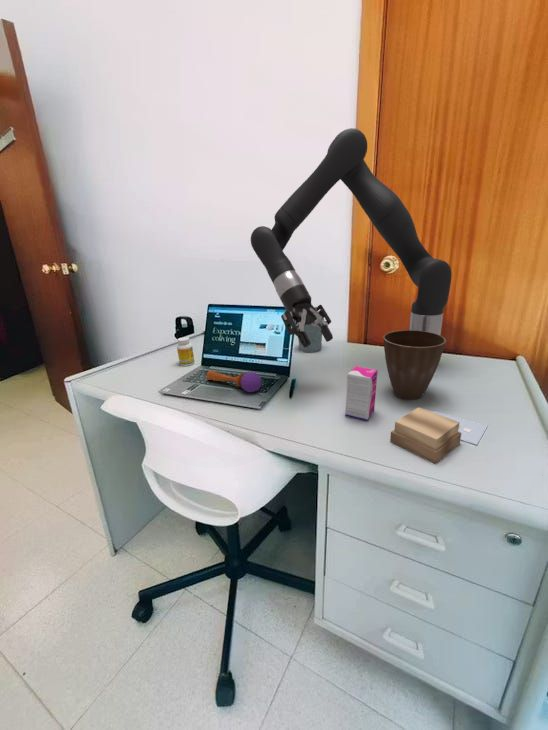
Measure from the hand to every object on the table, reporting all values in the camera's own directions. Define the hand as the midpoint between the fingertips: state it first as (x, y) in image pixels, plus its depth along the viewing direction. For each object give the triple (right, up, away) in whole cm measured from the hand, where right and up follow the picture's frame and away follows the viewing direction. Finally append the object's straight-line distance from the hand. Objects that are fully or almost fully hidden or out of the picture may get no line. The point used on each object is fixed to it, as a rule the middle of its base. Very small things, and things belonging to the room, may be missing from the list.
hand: (319, 343), depth 90 cm
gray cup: (+2, 0, +44) cm, 44 cm away
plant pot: (+25, -14, +4) cm, 29 cm away
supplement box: (+10, -18, -4) cm, 21 cm away
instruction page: (+29, -20, -12) cm, 37 cm away
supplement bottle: (-44, -6, +36) cm, 57 cm away
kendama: (-24, -13, +16) cm, 31 cm away
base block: (+20, -22, -17) cm, 34 cm away
